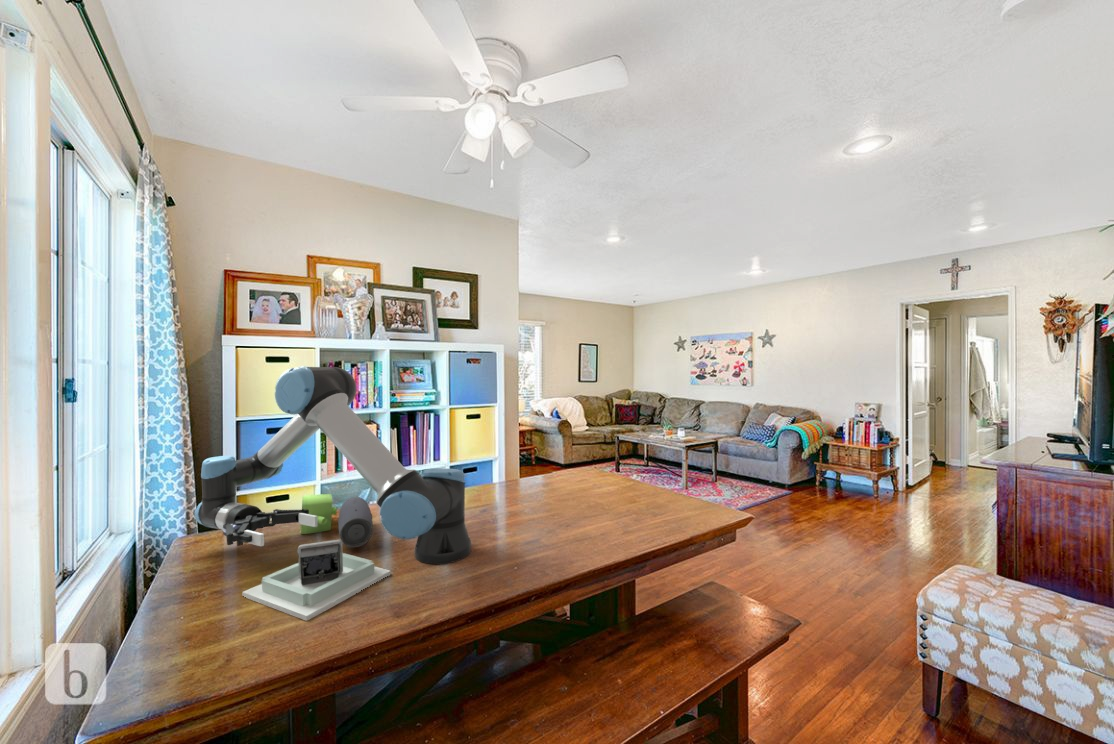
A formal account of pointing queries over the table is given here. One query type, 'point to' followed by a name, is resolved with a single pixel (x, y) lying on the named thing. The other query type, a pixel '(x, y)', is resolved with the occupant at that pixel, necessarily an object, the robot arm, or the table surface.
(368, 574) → the pocket tray
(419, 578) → the table surface
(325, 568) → the electrical switch
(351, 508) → the bluetooth speaker
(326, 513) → the gearbox
